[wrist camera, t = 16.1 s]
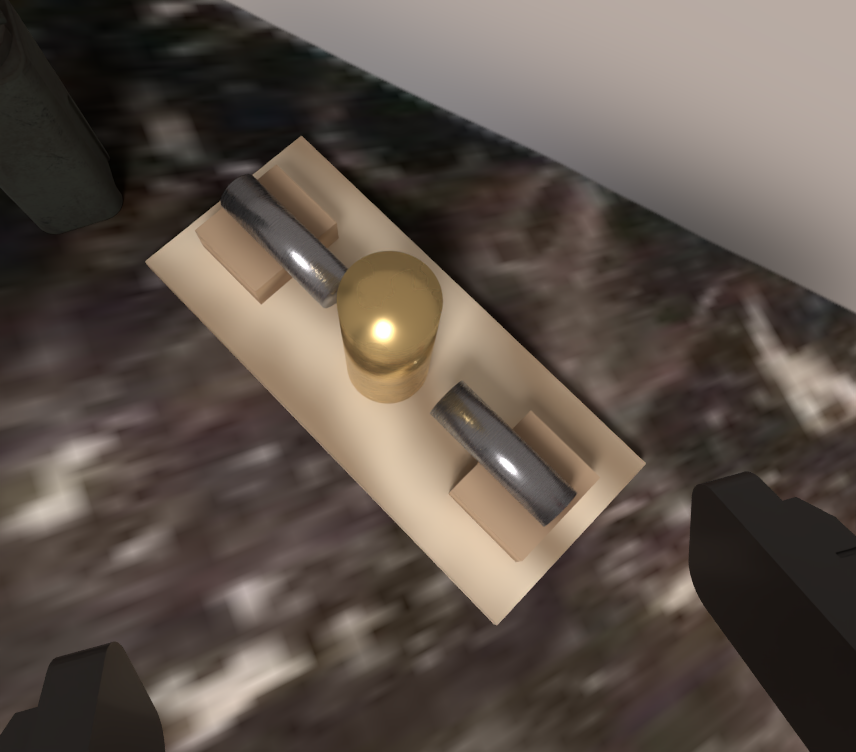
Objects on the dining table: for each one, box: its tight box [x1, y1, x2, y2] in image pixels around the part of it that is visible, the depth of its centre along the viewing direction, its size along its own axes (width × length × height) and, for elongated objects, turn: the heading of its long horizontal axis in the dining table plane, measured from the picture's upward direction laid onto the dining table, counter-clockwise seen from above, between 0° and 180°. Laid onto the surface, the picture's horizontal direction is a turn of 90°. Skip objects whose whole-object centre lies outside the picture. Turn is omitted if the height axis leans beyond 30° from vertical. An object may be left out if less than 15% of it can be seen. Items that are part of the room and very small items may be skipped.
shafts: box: [221, 174, 577, 527], centre depth 39 cm, size 2×24×2 cm, turn 45°
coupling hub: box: [337, 251, 443, 404], centre depth 37 cm, size 5×5×10 cm
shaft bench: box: [145, 136, 646, 625], centre depth 42 cm, size 12×28×3 cm, turn 45°
